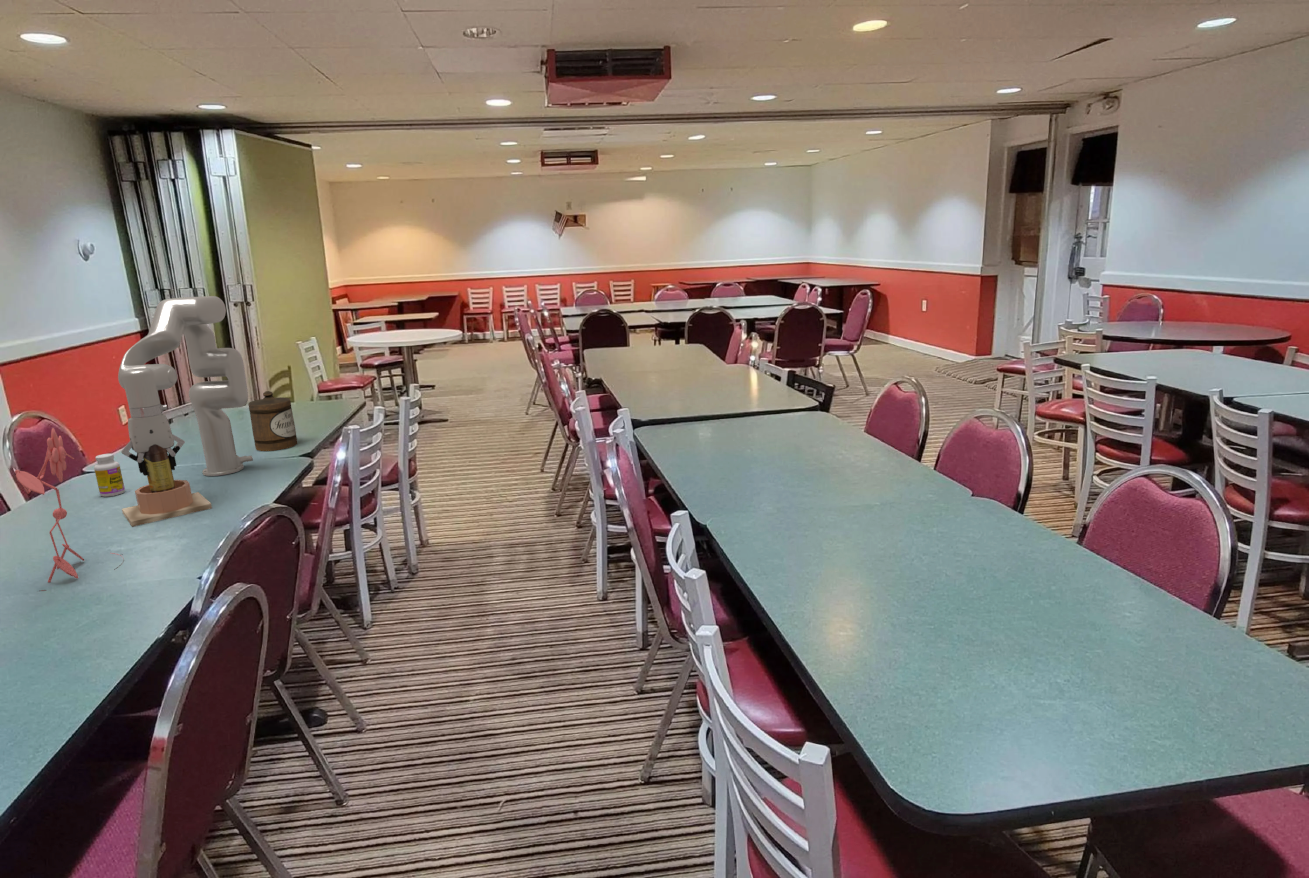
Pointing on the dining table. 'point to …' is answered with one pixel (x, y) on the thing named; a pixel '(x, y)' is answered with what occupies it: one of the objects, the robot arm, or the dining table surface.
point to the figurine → (57, 465)
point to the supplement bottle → (108, 476)
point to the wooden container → (272, 423)
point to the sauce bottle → (158, 469)
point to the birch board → (138, 518)
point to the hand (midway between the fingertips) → (158, 471)
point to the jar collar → (164, 498)
